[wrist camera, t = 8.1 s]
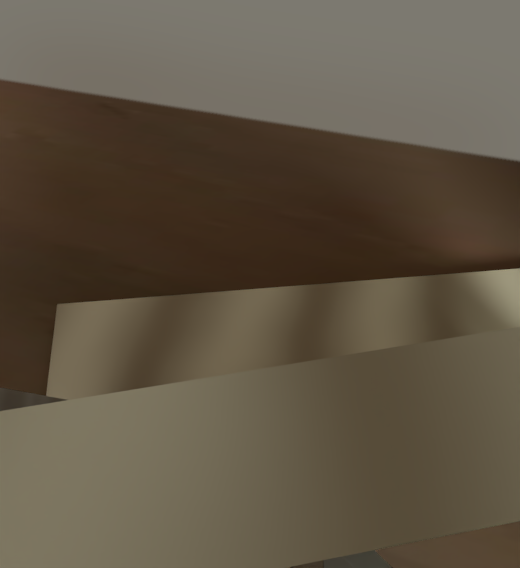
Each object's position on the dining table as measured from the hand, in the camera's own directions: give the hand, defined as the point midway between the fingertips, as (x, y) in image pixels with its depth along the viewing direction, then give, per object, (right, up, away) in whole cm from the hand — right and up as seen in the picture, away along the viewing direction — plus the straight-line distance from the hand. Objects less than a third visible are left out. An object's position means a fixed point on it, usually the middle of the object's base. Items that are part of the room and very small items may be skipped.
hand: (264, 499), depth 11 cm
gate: (+3, 0, +4) cm, 5 cm away
